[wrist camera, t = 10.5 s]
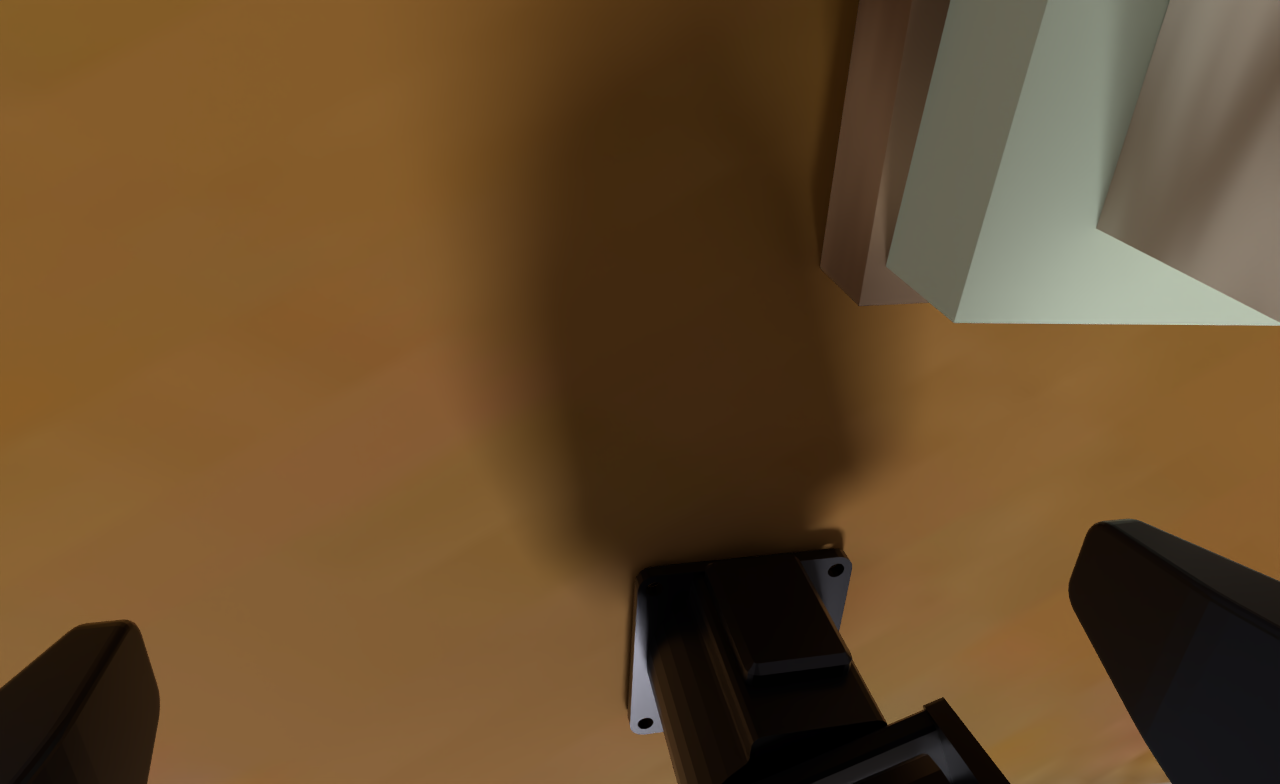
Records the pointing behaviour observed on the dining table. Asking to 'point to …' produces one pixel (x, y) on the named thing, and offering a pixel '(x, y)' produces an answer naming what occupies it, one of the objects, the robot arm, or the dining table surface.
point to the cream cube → (1207, 151)
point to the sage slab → (1037, 172)
